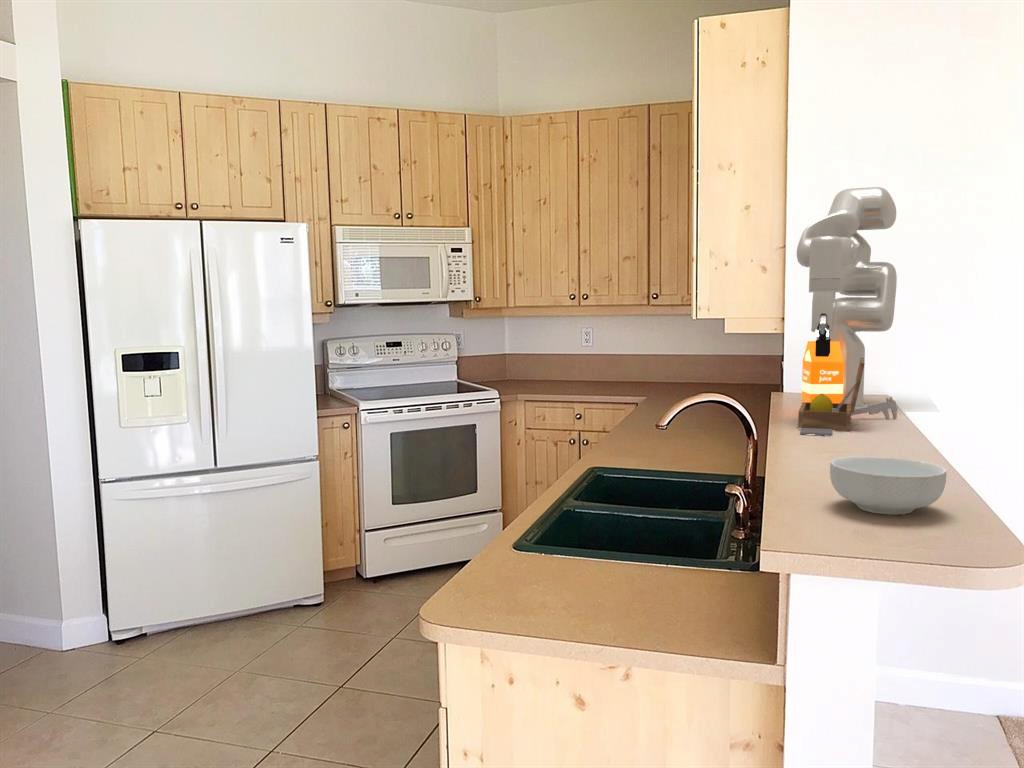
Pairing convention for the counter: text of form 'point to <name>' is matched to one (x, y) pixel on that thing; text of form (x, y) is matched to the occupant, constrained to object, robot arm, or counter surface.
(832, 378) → the orange juice
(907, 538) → the counter surface
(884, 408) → the caliper
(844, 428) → the case
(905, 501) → the cereal bowl
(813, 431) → the coaster
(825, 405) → the lemon
